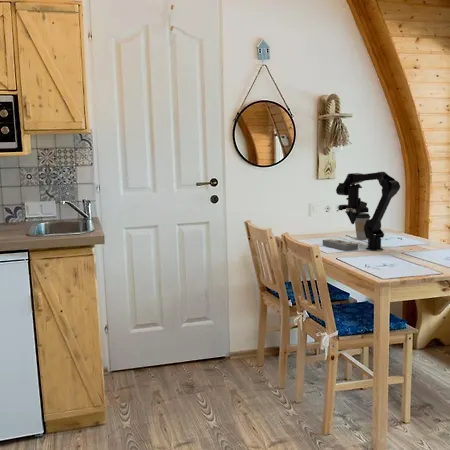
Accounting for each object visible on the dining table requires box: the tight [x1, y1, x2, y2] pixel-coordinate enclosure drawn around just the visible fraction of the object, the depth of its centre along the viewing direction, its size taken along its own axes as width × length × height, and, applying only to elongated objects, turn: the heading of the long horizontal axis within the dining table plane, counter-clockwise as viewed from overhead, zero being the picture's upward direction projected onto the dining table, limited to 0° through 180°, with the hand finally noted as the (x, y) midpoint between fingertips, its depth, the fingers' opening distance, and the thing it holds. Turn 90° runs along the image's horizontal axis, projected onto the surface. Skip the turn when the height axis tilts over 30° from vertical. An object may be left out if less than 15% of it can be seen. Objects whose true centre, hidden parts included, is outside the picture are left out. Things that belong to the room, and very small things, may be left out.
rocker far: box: [327, 238, 341, 242], centre depth 290 cm, size 6×4×1 cm, turn 27°
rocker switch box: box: [322, 239, 359, 252], centre depth 286 cm, size 20×8×3 cm, turn 27°
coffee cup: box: [354, 212, 371, 241], centre depth 310 cm, size 9×9×15 cm
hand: (352, 224), depth 289 cm, fingers closed
